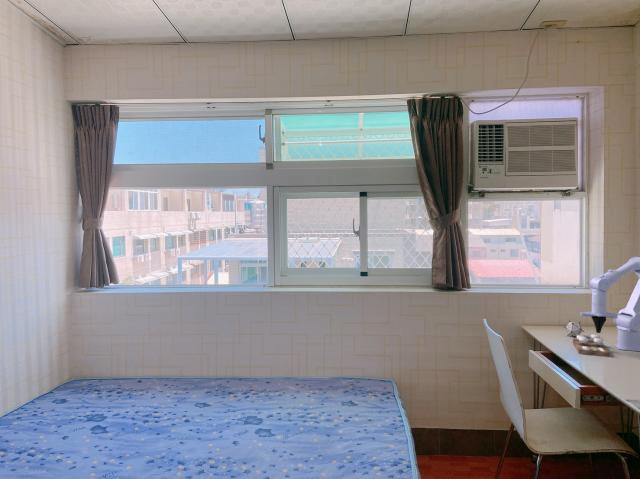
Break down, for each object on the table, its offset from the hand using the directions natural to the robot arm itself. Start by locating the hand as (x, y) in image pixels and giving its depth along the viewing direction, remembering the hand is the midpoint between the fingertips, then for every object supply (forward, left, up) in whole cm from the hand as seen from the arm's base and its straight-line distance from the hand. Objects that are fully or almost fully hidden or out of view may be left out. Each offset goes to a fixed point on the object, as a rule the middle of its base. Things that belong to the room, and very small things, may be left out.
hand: (598, 332), depth 204 cm
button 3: (0, 0, -5) cm, 5 cm away
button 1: (+6, 0, -5) cm, 8 cm away
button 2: (0, -7, -5) cm, 8 cm away
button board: (+3, 0, -8) cm, 9 cm away
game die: (+7, -22, -9) cm, 25 cm away
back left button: (+6, -7, -6) cm, 11 cm away
